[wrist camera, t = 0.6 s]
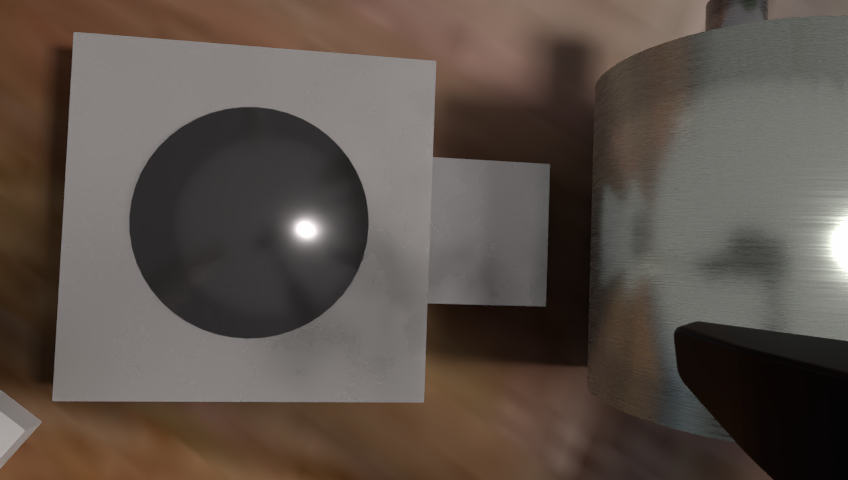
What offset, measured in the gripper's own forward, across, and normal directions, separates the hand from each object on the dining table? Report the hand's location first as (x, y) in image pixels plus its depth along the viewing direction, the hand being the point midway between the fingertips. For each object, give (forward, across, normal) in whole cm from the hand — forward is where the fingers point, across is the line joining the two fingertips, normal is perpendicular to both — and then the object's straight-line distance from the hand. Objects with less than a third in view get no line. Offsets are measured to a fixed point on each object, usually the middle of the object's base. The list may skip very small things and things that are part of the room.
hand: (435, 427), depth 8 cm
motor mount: (+14, -4, 0) cm, 15 cm away
